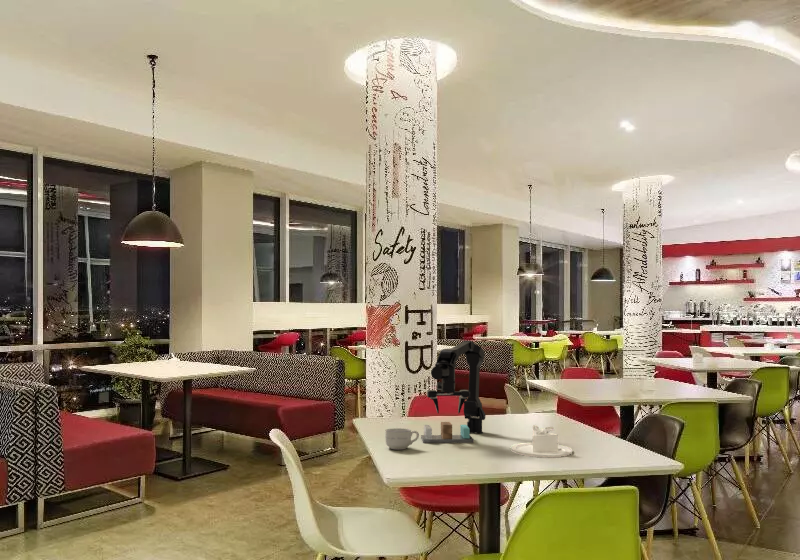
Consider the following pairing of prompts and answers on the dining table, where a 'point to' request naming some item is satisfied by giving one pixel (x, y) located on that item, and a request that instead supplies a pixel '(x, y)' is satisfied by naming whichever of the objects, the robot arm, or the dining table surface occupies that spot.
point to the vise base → (438, 438)
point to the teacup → (399, 438)
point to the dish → (542, 445)
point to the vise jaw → (465, 431)
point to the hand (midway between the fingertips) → (448, 413)
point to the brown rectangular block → (446, 430)
